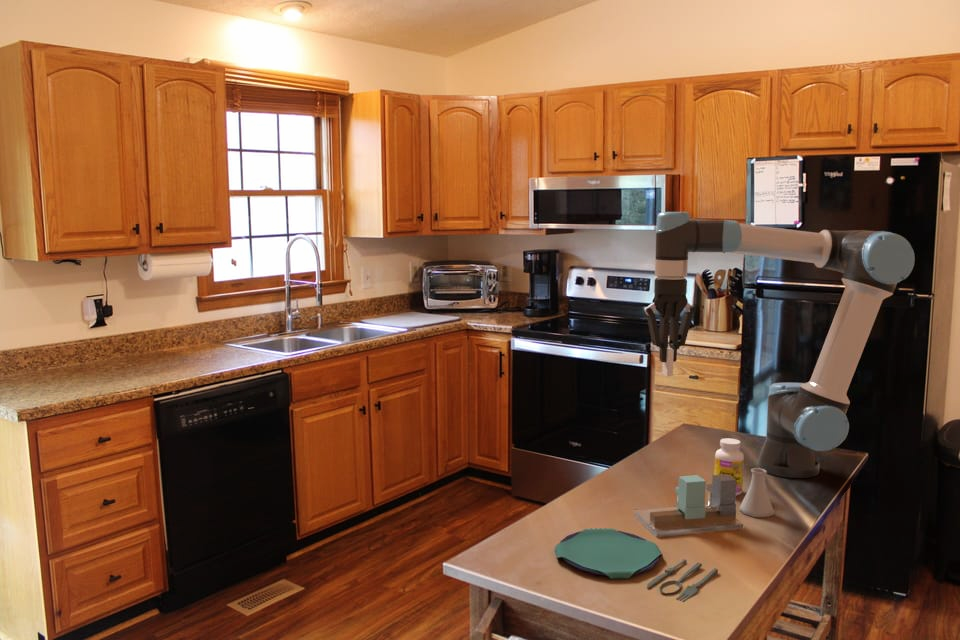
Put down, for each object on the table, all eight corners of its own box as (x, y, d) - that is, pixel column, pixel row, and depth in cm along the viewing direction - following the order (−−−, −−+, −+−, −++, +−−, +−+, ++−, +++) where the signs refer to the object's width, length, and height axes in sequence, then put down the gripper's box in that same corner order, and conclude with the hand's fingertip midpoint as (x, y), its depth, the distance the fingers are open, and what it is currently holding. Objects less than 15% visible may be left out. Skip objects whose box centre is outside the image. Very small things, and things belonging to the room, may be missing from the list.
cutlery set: (593, 529, 175) (594, 519, 174) (725, 574, 155) (725, 562, 155) (537, 560, 160) (537, 549, 160) (674, 614, 140) (675, 602, 140)
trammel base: (715, 508, 186) (717, 464, 184) (743, 529, 174) (745, 481, 173) (634, 515, 182) (635, 470, 180) (656, 537, 170) (658, 489, 169)
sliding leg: (686, 508, 182) (688, 468, 180) (704, 523, 174) (706, 481, 172) (668, 509, 181) (669, 469, 180) (685, 524, 173) (687, 483, 171)
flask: (733, 508, 186) (735, 467, 184) (758, 504, 188) (761, 463, 187) (754, 520, 179) (756, 477, 178) (780, 516, 182) (783, 473, 180)
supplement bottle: (713, 495, 194) (716, 444, 192) (712, 486, 200) (715, 436, 198) (743, 498, 192) (745, 446, 190) (741, 488, 199) (743, 438, 197)
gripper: (689, 275, 196) (685, 370, 200) (638, 276, 194) (635, 373, 197) (703, 278, 189) (699, 377, 193) (651, 279, 186) (648, 379, 190)
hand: (667, 374), depth 195 cm, fingers closed
